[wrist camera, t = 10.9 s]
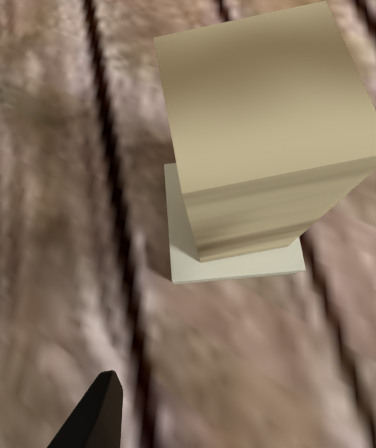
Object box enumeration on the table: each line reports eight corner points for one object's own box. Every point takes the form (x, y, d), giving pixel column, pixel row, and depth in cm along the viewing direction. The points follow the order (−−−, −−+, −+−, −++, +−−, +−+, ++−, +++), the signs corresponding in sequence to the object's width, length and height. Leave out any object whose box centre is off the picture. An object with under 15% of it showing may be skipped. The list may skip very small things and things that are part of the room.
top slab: (298, 272, 20) (305, 269, 19) (174, 284, 21) (172, 282, 19) (276, 161, 23) (281, 151, 22) (166, 173, 23) (163, 164, 22)
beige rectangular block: (287, 246, 19) (394, 152, 8) (200, 262, 19) (182, 193, 8) (265, 168, 21) (325, 0, 10) (186, 184, 21) (153, 37, 10)
